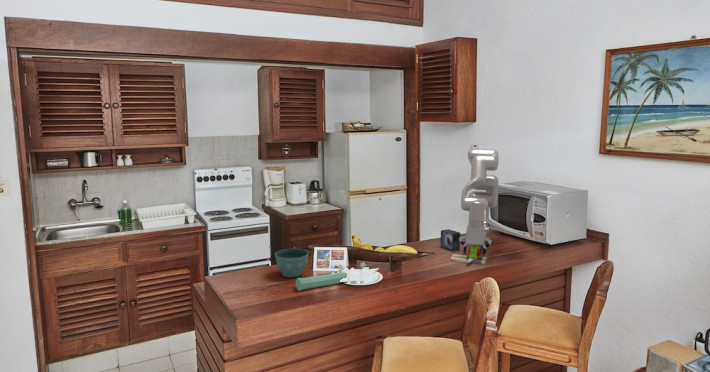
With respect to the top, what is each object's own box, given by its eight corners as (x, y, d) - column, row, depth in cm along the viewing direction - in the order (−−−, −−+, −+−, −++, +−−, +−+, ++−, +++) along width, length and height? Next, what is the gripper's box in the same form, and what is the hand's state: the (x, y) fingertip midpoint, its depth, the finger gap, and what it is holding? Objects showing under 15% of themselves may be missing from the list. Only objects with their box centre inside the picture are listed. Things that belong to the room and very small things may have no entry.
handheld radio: (490, 248, 297) (474, 257, 277) (485, 247, 299) (469, 256, 279) (490, 237, 296) (474, 245, 276) (485, 236, 298) (469, 245, 278)
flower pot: (272, 279, 235) (272, 257, 233) (278, 269, 251) (277, 248, 249) (306, 280, 235) (306, 258, 233) (310, 269, 251) (310, 248, 249)
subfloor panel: (452, 256, 277) (452, 253, 277) (486, 259, 272) (486, 257, 271) (450, 261, 269) (450, 258, 269) (485, 264, 263) (485, 261, 263)
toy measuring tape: (484, 255, 274) (484, 244, 273) (472, 264, 258) (473, 252, 257) (472, 253, 278) (473, 242, 277) (460, 262, 261) (461, 250, 260)
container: (345, 268, 235) (296, 275, 222) (351, 275, 231) (302, 283, 218) (343, 277, 238) (294, 285, 225) (348, 285, 233) (299, 294, 221)
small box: (439, 247, 297) (440, 230, 295) (447, 245, 300) (448, 228, 299) (452, 251, 288) (452, 233, 286) (460, 249, 291) (460, 232, 290)
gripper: (493, 223, 267) (491, 254, 270) (460, 220, 273) (459, 251, 275) (492, 226, 260) (490, 257, 263) (458, 223, 265) (457, 254, 268)
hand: (474, 254), depth 269 cm, fingers open, 9 cm apart
